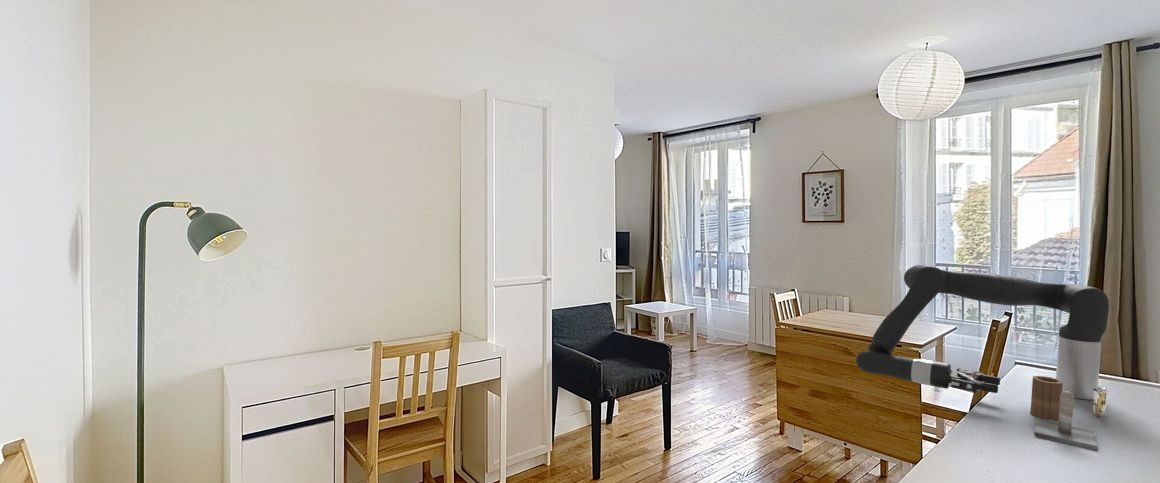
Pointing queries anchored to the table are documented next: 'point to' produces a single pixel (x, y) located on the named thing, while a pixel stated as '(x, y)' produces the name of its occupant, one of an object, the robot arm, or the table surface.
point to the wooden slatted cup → (1046, 397)
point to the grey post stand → (1066, 426)
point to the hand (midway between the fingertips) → (998, 385)
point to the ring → (1100, 400)
